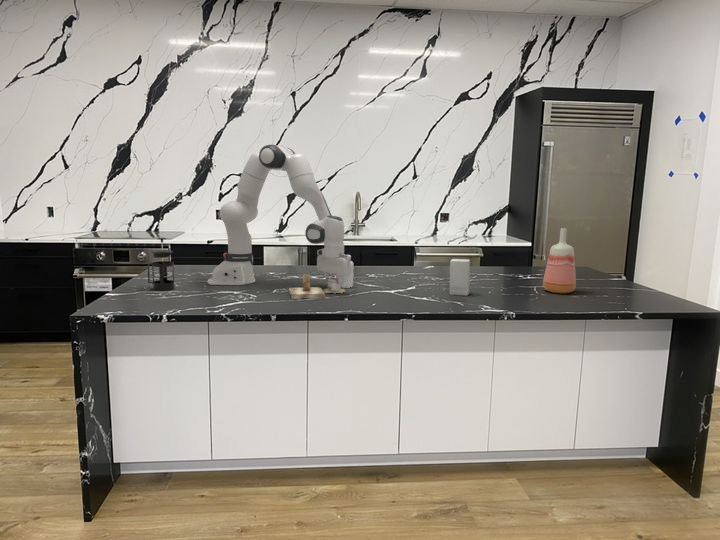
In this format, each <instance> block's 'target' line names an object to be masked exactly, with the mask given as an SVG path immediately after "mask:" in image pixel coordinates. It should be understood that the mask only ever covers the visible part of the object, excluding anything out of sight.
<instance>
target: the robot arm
mask: <svg viewBox="0 0 720 540" xmlns="http://www.w3.org/2000/svg"><path fill="white" fill-rule="evenodd" d="M311 167H312V166H311V164H310V162H309V160H308V159H307V157H306V156H305V155H304V154H302V153H296V152H295V151H294V150H293V149H291V148H289V147H286V146H284V145H275V144H267V145H264V146H263V147H261V149H260V151H255V152H253V153H252V154H251V155H250V156H249V158H248V159H247V162H246V163H245V166H244V167H243V170H242V171H241V175H240V177H239V181H238V183H237V185H236V186H237V190H238V191H237V196H236V197H237V198H236V199H235V200H232V201H228V202H226V203H224V204H222V206H221V207H220V209H219V218H220V219H221V221H222V222H223V225H224V227H225V231H226V236H227V252H224V253H223V254H222V255H223V261H222V262H221V263H220V264H218V265H217V266H215V268H213V270H212V274H211V278H209V279H207V284H208V285H210V286H211V285H213V286H243V285H248V284H252V283H255V282H256V279H255V275H254V274H255V273H254V270H253V268H254V267H253V264H254V255H253V251H252V250H253V249H252V247H253V245H252V244H253V243H252V242H253V240H252V235H251V234H250V232H249V229H248V223H251V222H252V221H254V220H255V219H256V218H257V217H258V215H259V214H258V213H259V210H258V205H259V199H260V195H261V192H262V190H263V187H264V185H265V182H266V180H267V177H268V175H269V173H270V172H271V171H272V170H274V171H283V172H286V174H287V176H288V180H289V183H290V186H291V190H292V191H293V193H294V194H295V196H297V197H299V198H300V199H302V200H305V201H307V202H308V203H309V204H310V205H312V207H313V209H314V211H315V213H316V216H317V219H318V221H316V222H312V223H309V224H308V225H307V226H306V228H305V238H306V240H307V241H308V242H309V243H310V244H313V245H318V244H319V245H321V244H323V245H324V247H323V248H321V249H318V250H317V252H316V254H317V257H316V268H317V271H319V272H323V275H324V276H323V277H325V283H328V278H330V275H329V274H333V275H336V274H337V275H339V277H340V278H339V280H338V281H337V284H338V285H342V281H343V279H344V276H350V275H351V262H350V261H351V260H350V258H349V257H348V255H349V254H345V244H344V240H345V239H344V238H345V222H344V219H343V218H342V217H340V216H338V215H332V213H331V210H330V208H329V206H328V203H327V200H326V199H325V196H324V194H323V192H322V191H321V190H320V188H319V186H318V184H317V181H316V179H315V177H314V172H313V170H312V168H311Z"/></svg>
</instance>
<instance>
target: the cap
mask: <svg viewBox="0 0 720 540" xmlns="http://www.w3.org/2000/svg"><path fill="white" fill-rule="evenodd" d="M338 280H339V278H336V277H331V276H329V278H328V282H327V289H328V291H333V292H337V291H340V289H341V288H340V285H338V284H337V281H338Z"/></svg>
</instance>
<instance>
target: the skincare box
mask: <svg viewBox="0 0 720 540" xmlns="http://www.w3.org/2000/svg"><path fill="white" fill-rule="evenodd" d="M470 269H471V259H466V258H465V259H463V258H462V259H461V258H452V259H450V261H449V295H450V294H451V295H452V296H468V295H469V294H470V272H471V270H470Z"/></svg>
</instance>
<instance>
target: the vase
mask: <svg viewBox="0 0 720 540" xmlns="http://www.w3.org/2000/svg"><path fill="white" fill-rule="evenodd" d="M567 231H568V229H567V228H564V227H562V228H561V227H560V232H559V241H558V242H557V243H556V244H553V245H552V246H551V247H550V249H549V254H548V257H547V263H546V266H545V269H544V270H545V271H544V274H543V275H544V276H543V280H542V281H543V282H542V287H543V289H544V290H546V291H547V292H549V293H553V294H571V293H572V292H574V291H575V289H576V288H577V287H576V285H577V280H576V279H577V278H576V264H575V263H576V262H575V261H576V260H575V249H574V247H573V246H572V245H570V244H568V243H567V235H568V234H567Z"/></svg>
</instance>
